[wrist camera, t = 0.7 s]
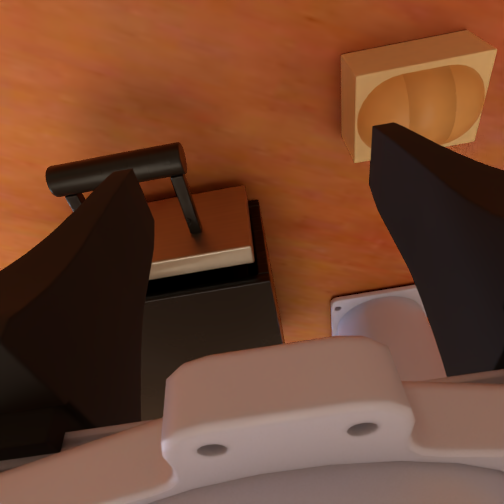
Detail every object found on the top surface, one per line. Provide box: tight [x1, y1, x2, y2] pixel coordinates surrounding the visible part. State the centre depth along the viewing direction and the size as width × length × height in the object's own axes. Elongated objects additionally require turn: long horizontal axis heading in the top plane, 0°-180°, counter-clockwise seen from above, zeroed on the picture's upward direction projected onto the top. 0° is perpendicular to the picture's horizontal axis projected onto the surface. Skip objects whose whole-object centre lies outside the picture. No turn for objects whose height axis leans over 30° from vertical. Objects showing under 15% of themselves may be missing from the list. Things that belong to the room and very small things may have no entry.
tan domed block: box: [341, 30, 497, 163], centre depth 19 cm, size 4×6×4 cm
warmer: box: [141, 200, 285, 421], centre depth 27 cm, size 13×12×7 cm
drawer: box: [46, 142, 256, 293], centre depth 24 cm, size 17×10×5 cm, turn 9°
